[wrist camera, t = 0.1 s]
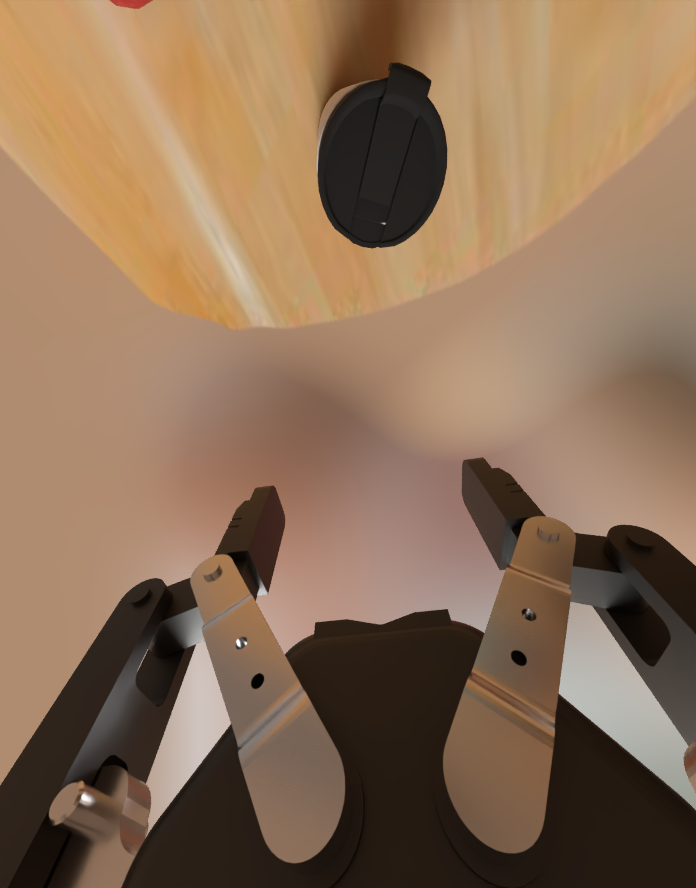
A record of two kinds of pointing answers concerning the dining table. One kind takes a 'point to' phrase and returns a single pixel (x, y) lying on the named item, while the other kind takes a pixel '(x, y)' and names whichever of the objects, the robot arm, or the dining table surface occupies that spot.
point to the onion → (131, 3)
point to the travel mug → (381, 158)
